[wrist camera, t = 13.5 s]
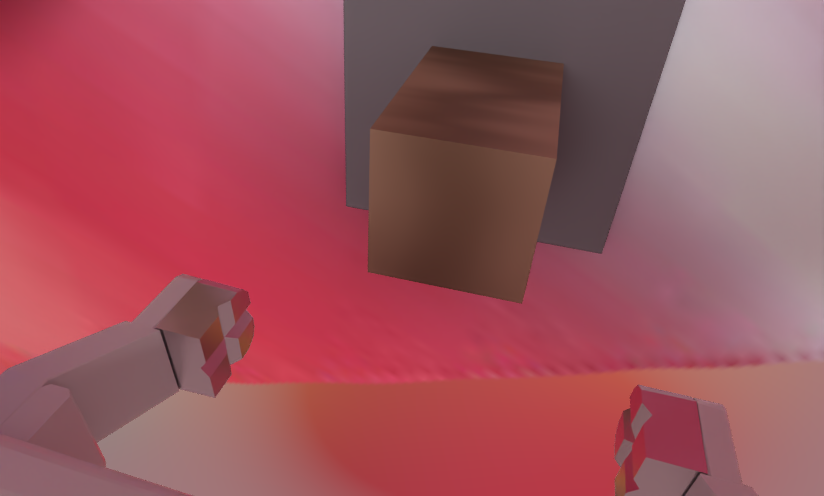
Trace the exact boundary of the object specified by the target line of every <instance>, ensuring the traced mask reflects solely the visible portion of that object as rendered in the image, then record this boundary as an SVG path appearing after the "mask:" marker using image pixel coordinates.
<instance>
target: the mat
mask: <svg viewBox="0 0 824 496" xmlns="http://www.w3.org/2000/svg"><path fill="white" fill-rule="evenodd" d="M684 3H685V0H344V76H345V152H346V206H348V207H353V208H359V209H364V210H369V164H370V128H371V127H372V125H373V124H374V123H375V121H376V120H377V119H378V117H379V116H380V115H381V113H382V112H383V111H384V109H385V108H386V107H387V105H388V104H389V103H390V101H391V100H392V99H393V97H394V96H395V95H396V93H397V92H398V91H399V89H400V88H401V87H402V85H403V84H404V83H405V81H406V80H407V79H408V77H409V76H410V75H411V73H412V72H413V71H414V69H415V68H416V67H417V65H418V64H419V63H420V61H421V60H422V59H423V57H424V56H425V55H426V53H427V52H428V51H429V49H430V48H431V47H432V46H437V47H444V48H452V49H459V50H467V51H474V52H482V53H489V54H496V55H504V56H511V57H519V58H526V59H533V60H541V61H548V62H556V63H563V64H564V67H563V81H562V94H561V108H560V121H559V135H558V149H557V160H556V164H555V168H554V172H553V177H552V181H551V185H550V189H549V193H548V197H547V202H546V206H545V210H544V214H543V218H542V222H541V227H540V231H539V235H538V239H537V242H541V243H547V244H552V245H557V246H563V247H568V248H573V249H579V250H584V251H590V252H595V253H600V254H602V251H603V248H604V245H605V242H606V239H607V236H608V233H609V230H610V227H611V224H612V221H613V218H614V215H615V212H616V209H617V206H618V203H619V200H620V197H621V194H622V191H623V188H624V185H625V182H626V179H627V176H628V173H629V170H630V167H631V164H632V160H633V157H634V154H635V151H636V148H637V145H638V142H639V139H640V136H641V133H642V130H643V127H644V124H645V121H646V118H647V115H648V112H649V109H650V106H651V103H652V100H653V97H654V94H655V91H656V88H657V85H658V82H659V79H660V76H661V73H662V70H663V67H664V64H665V61H666V58H667V55H668V52H669V49H670V46H671V43H672V40H673V37H674V34H675V31H676V28H677V25H678V22H679V19H680V16H681V12H682V9H683V6H684Z"/></svg>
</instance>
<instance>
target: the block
mask: <svg viewBox="0 0 824 496" xmlns="http://www.w3.org/2000/svg"><path fill="white" fill-rule="evenodd" d="M563 67H564V64H563V63H556V62H548V61H541V60H533V59H526V58H519V57H511V56H504V55H496V54H489V53H482V52H474V51H467V50H459V49H452V48H444V47H437V46H432V47H431V48H430V49H429V51H428V52H427V53H426V55H425V56H424V57H423V59H422V60H421V61H420V63H419V64H418V65H417V67H416V68H415V69H414V71H413V72H412V73H411V75H410V76H409V77H408V79H407V80H406V81H405V83H404V84H403V85H402V87H401V88H400V89H399V91H398V92H397V93H396V95H395V96H394V97H393V99H392V100H391V101H390V103H389V104H388V105H387V107H386V108H385V109H384V111H383V112H382V113H381V115H380V116H379V117H378V119H377V120H376V121H375V123H374V124H373V125H372V127H371V128H370V164H369V228H368V272H370V273H375V274H380V275H385V276H390V277H395V278H400V279H404V280H409V281H414V282H419V283H424V284H429V285H434V286H439V287H444V288H448V289H453V290H458V291H463V292H468V293H473V294H478V295H483V296H488V297H493V298H497V299H502V300H507V301H512V302H517V303H522V302H523V298H524V293H525V289H526V285H527V281H528V277H529V273H530V268H531V264H532V260H533V256H534V252H535V248H536V243H537V239H538V235H539V231H540V227H541V222H542V218H543V214H544V210H545V206H546V202H547V197H548V193H549V189H550V185H551V181H552V177H553V172H554V168H555V164H556V160H557V149H558V135H559V121H560V108H561V94H562V81H563Z"/></svg>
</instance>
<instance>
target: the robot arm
mask: <svg viewBox="0 0 824 496" xmlns="http://www.w3.org/2000/svg"><path fill="white" fill-rule="evenodd" d="M249 305H250V298H249V294H248V292H247V291H245V290H243V289H239V288H235V287H232V286H228V285H224V284H221V283H217V282H213V281H209V280H206V279H201V278H197V277H193V276H190V275H186V274H182V275H179V276H177V277H175V278H174V279H173V280H172V281H171V282H170V283H169V284H168V285H167V286H166V287H165V289H164V290H163V291H162V292H161V293H160V294H159V295H158V296H157V297H156V298H155V299H154V300H153V301H152V302H151V303H150V304H149V305H148V306H147V307H146V308H145V309H144V310H143V311H142V312H141V313H140V314H139V315H138V316H137V317H136V318H135V319H134V320H133V321H132V322H128V321H124V322H122V323H119V324H117V325H114V326H112V327H109V328H107V329H104V330H102V331H99V332H97V333H94V334H92V335H90V336H87V337H85V338H82V339H80V340H77V341H75V342H72V343H70V344H67V345H65V346H62V347H60V348H57V349H55V350H53V351H50V352H48V353H45V354H43V355H40V356H38V357H35V358H33V359H30V360H28V361H25V362H23V363H20V364H18V365H16V366H13V367H11V368H8V369H7V370H6V371H5V372H3V373H2V374H1V375H0V496H192V495H189V494H186V493H183V492H180V491H177V490H174V489H171V488H168V487H165V486H162V485H158V484H155V483H152V482H149V481H146V480H143V479H140V478H137V477H133V476H131V475H127V474H124V473H121V472H118V471H115V470H112V469H109V468H106V461H105V458H104V456H103V454H102V452H101V450H100V448H99V446H98V444H97V442H99V441H100V440H102V439H103V438H105V437H107V436H108V435H109V434H111V433H113V432H114V431H116V430H118V429H119V428H121V427H123V426H124V425H126V424H127V423H129V422H130V421H132V420H134V419H135V418H137V417H138V416H140V415H142V414H143V413H145V412H146V411H148V410H149V409H151V408H153V407H154V406H156V405H158V404H159V403H161V402H162V401H164V400H166V399H167V398H169V397H170V396H172V395H174V394H175V393H177V392H178V391H179V389H182V390H186V391H190V392H193V393H197V394H201V395H206V396H209V397H213V398H215V397H216V396H217V394H218V393H219V392H220V390H221V389H222V387H223V386H224V384H225V383H226V382H227V380H228V379H229V377H230V376H231V366H230V365H231V364H233V363H235V362H237V361H239V360H241V359H242V358H243V357H244V355H245V354H246V352H247V351H248V349H249V347H250V344H251V342H252V339H253V336H254V321H253V317H252V316H251V315H250V314H249V313H248V311H247V310H246V309H247V307H248V306H249ZM615 460H616V461H617V463H618V464H619V466H620V467H621V468H620V470H619V472H618V474H617V476H616V478H615V496H758V494H757V493H756V492H755V491H754V489H753V488H752V487H750V486H746V485H743V484H742V480H741V475H740V471H739V466H738V461H737V457H736V452H735V447H734V443H733V438H732V434H731V429H730V425H729V420H728V415H727V411H726V409H725V407H724V406H723V405H722V404H717V403H714V402H710V401H705V400H701V399H697V398H692V397H689V396H685V395H680V394H676V393H672V392H667V391H663V390H659V389H654V388H650V387H645V386H642V385H637V386H636V387H635V388H634V390H633V392H632V394H631V396H630V409H627V410H625V411H623V413H622V416H621V418H620V420H619V423H618V427H617V431H616V435H615Z"/></svg>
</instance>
